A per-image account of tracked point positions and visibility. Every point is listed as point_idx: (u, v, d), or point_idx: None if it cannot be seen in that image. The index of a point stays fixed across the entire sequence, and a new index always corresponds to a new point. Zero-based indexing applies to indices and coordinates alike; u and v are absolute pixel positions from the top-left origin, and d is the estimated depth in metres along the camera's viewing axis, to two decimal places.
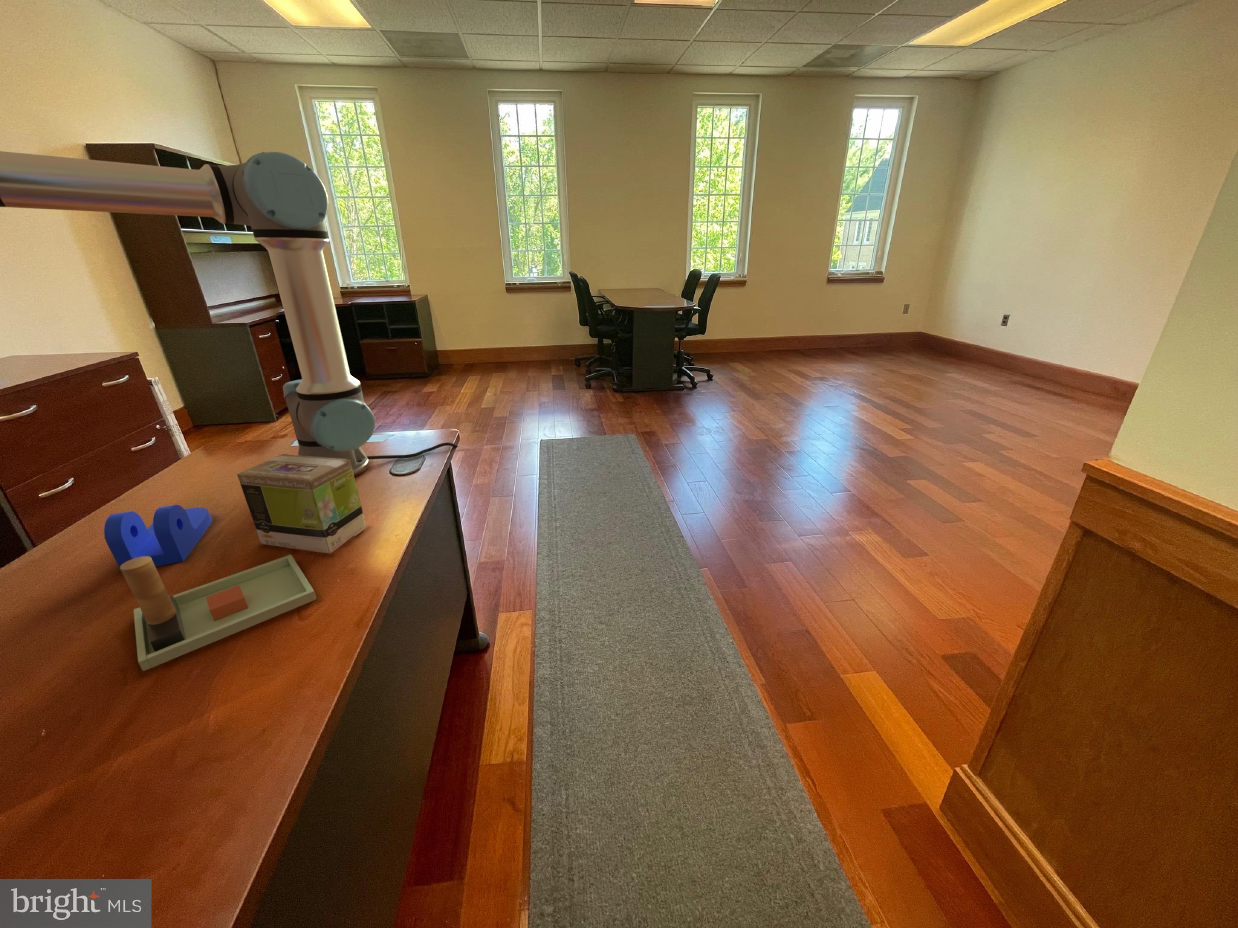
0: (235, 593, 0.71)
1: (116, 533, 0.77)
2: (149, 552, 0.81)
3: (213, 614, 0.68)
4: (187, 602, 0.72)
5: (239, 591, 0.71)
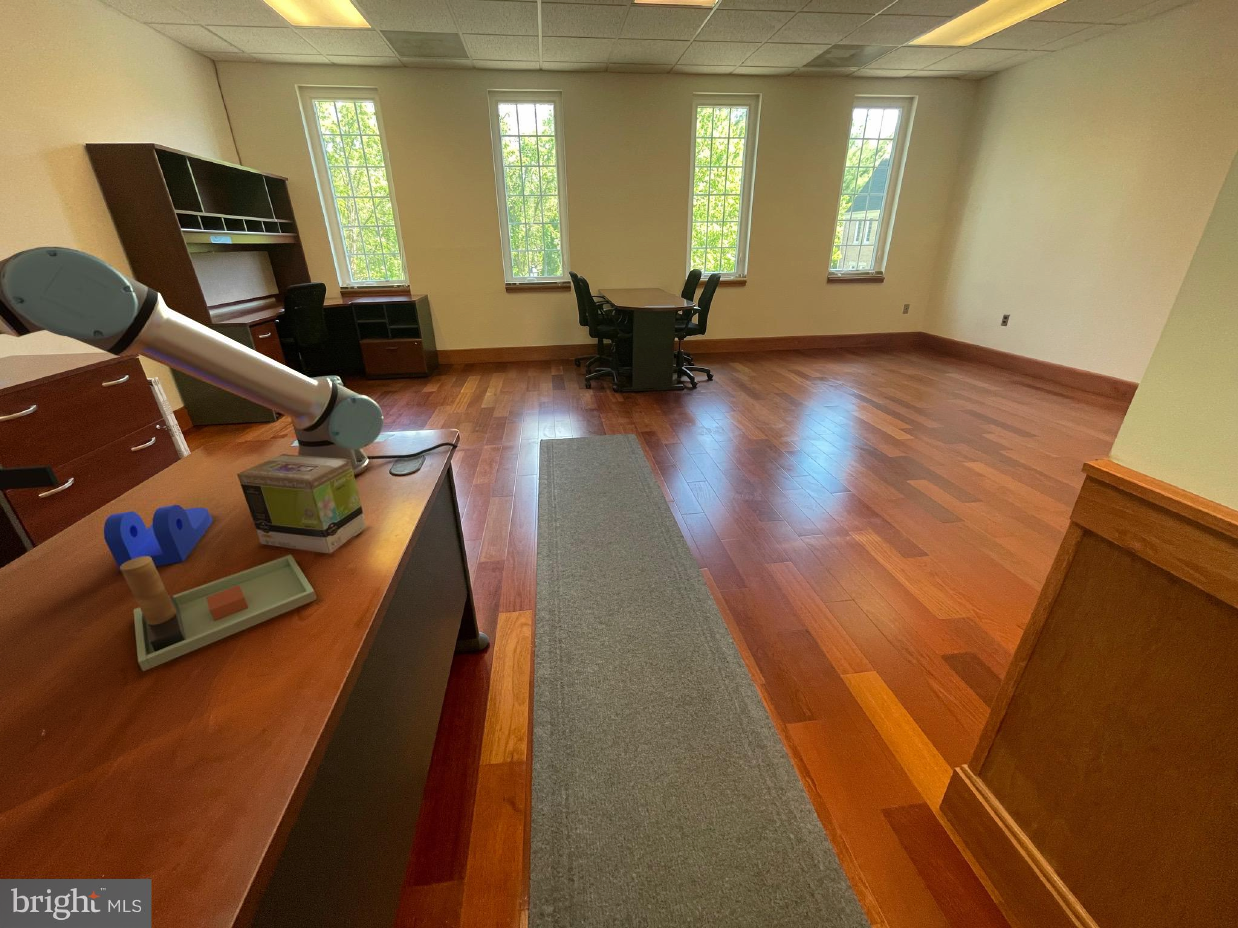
0: (235, 593, 0.71)
1: (116, 533, 0.77)
2: (149, 552, 0.81)
3: (213, 614, 0.68)
4: (187, 602, 0.72)
5: (239, 591, 0.71)
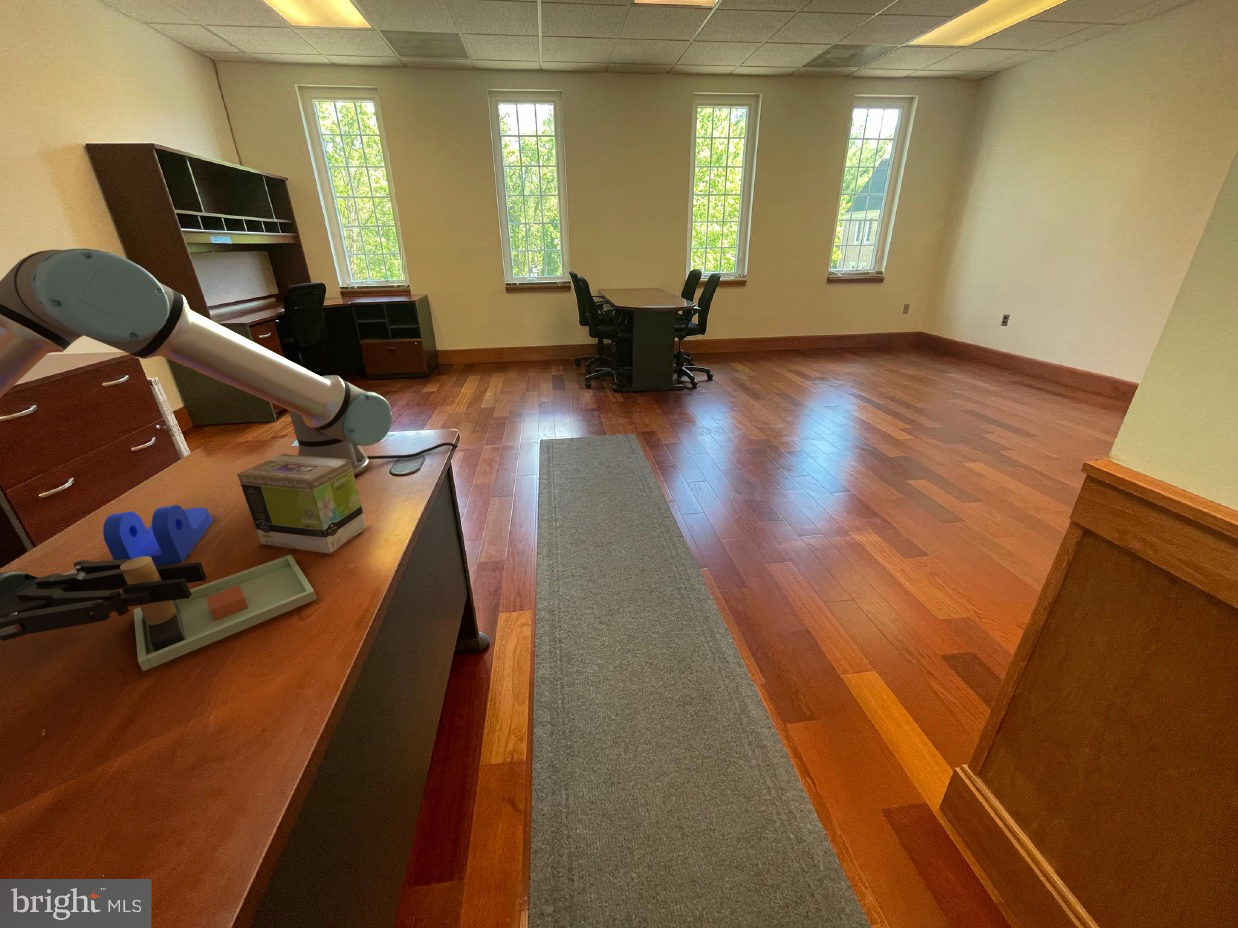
0: (235, 593, 0.71)
1: (115, 533, 0.77)
2: (148, 552, 0.81)
3: (213, 614, 0.68)
4: (187, 602, 0.72)
5: (239, 591, 0.71)
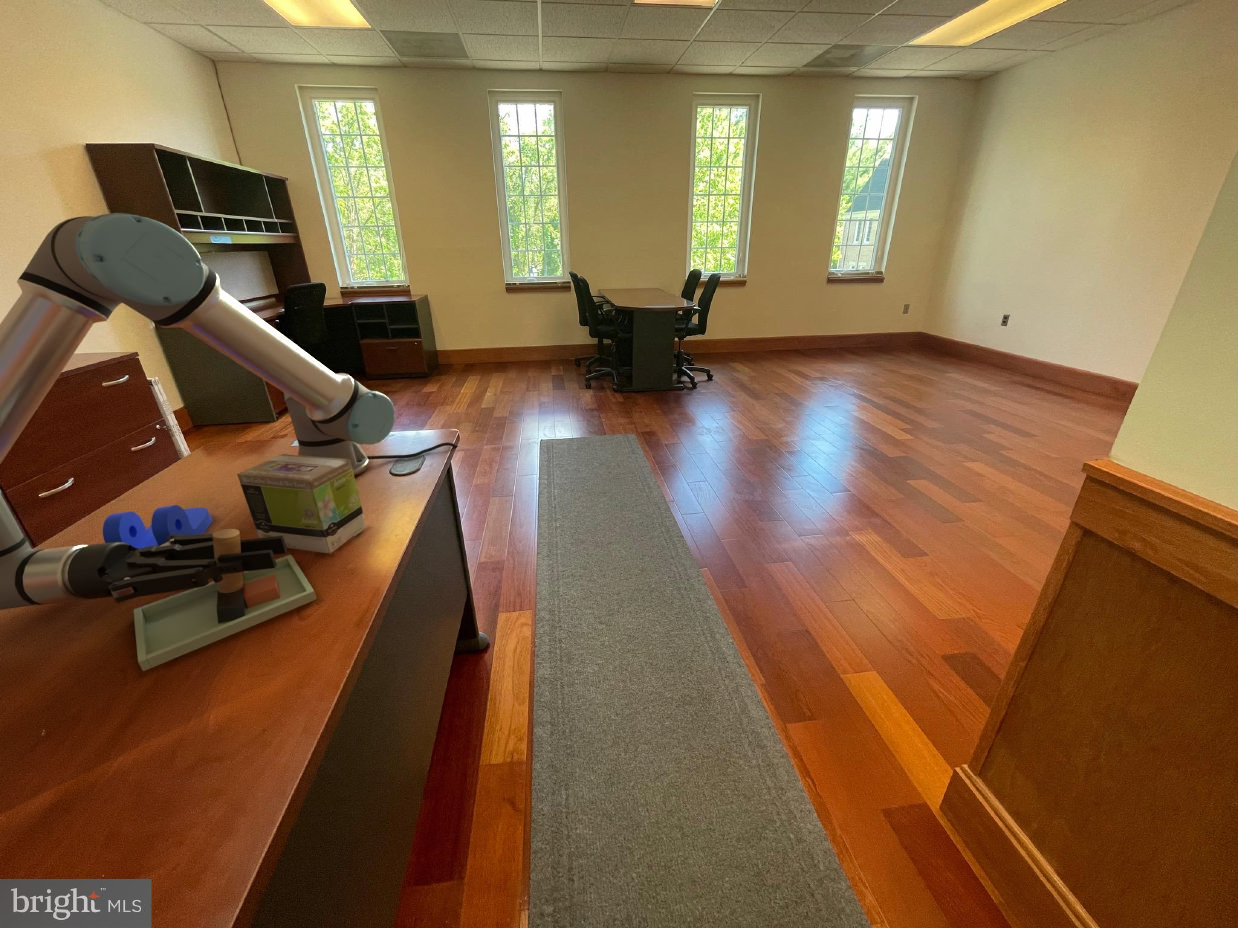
0: (269, 582, 0.73)
1: (115, 533, 0.77)
2: None
3: (247, 601, 0.70)
4: (187, 602, 0.72)
5: (273, 581, 0.73)
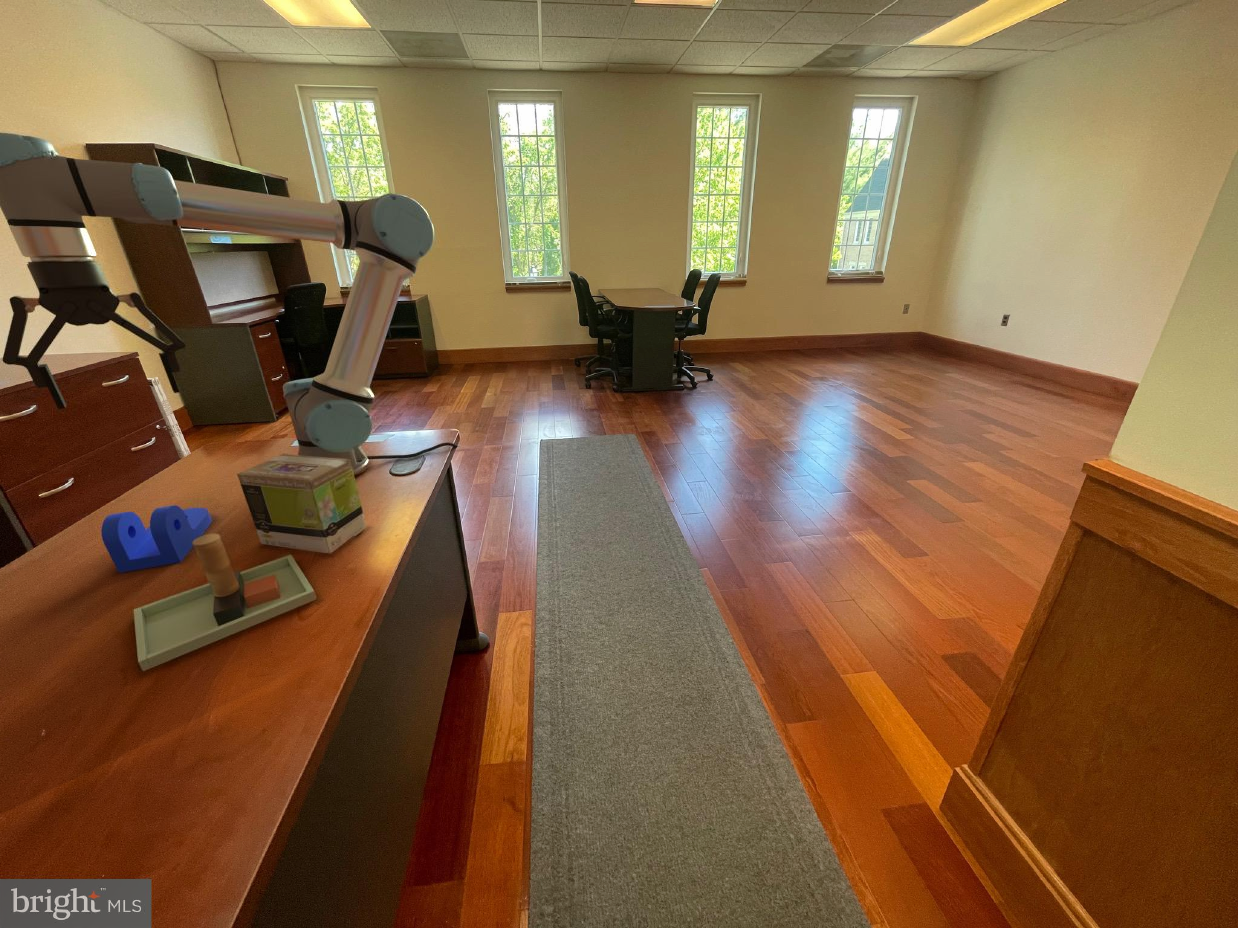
0: (269, 582, 0.73)
1: (113, 533, 0.77)
2: (147, 552, 0.81)
3: (247, 601, 0.70)
4: (187, 602, 0.72)
5: (273, 580, 0.73)
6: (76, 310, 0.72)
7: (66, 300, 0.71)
